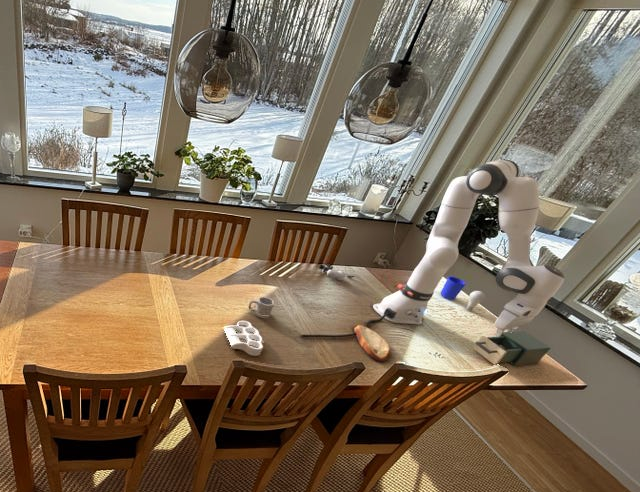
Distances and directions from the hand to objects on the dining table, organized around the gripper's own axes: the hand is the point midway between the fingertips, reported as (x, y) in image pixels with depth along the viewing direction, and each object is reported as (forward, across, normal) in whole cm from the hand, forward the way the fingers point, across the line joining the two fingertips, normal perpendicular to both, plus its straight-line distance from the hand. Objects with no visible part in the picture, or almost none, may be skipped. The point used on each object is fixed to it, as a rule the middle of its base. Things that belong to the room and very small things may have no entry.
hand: (503, 334), depth 160 cm
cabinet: (+12, -15, +3) cm, 20 cm away
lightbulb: (+13, -33, -28) cm, 45 cm away
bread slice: (+13, +46, -22) cm, 53 cm away
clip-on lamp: (+14, +15, -72) cm, 75 cm away
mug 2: (+13, -36, -41) cm, 56 cm away
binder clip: (+10, -3, +1) cm, 11 cm away
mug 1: (+14, +80, -53) cm, 97 cm away
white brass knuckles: (+14, +98, -38) cm, 106 cm away
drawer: (+12, -2, +1) cm, 12 cm away
